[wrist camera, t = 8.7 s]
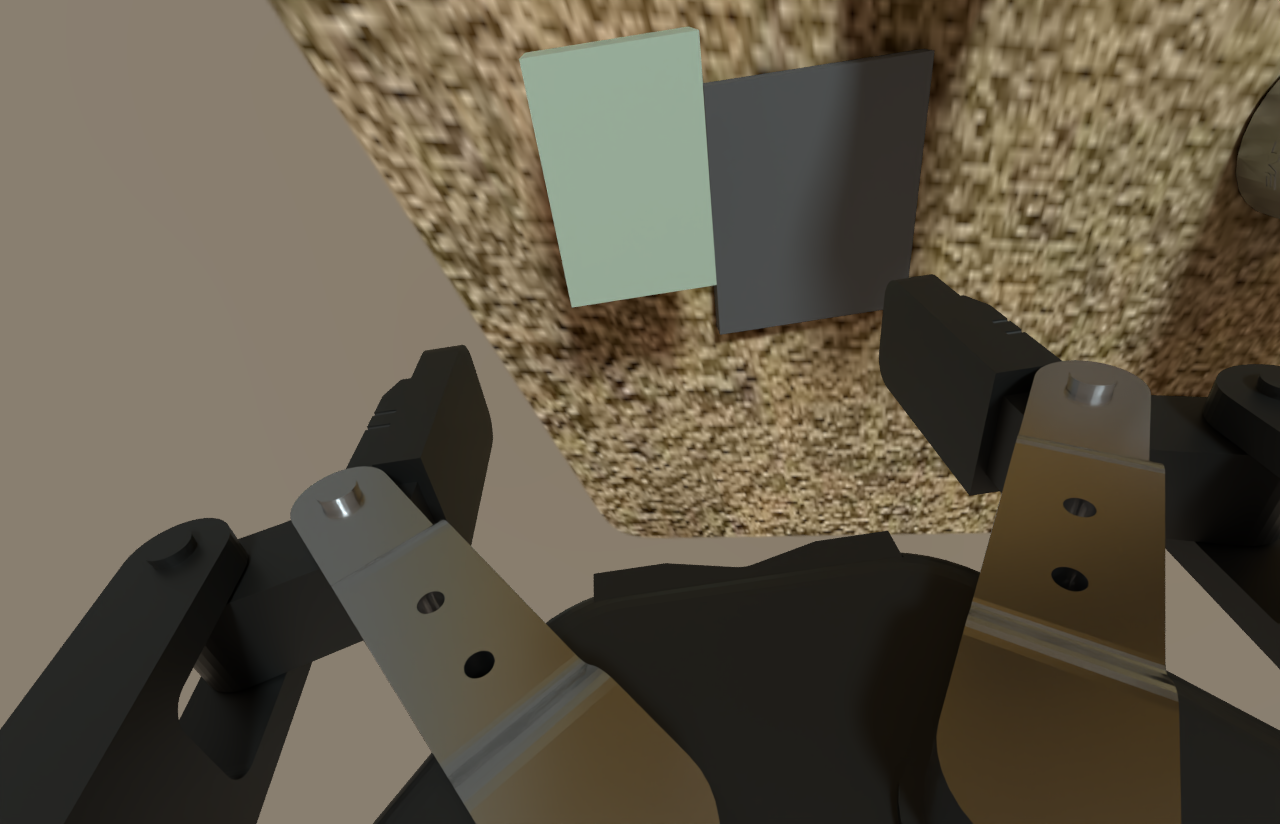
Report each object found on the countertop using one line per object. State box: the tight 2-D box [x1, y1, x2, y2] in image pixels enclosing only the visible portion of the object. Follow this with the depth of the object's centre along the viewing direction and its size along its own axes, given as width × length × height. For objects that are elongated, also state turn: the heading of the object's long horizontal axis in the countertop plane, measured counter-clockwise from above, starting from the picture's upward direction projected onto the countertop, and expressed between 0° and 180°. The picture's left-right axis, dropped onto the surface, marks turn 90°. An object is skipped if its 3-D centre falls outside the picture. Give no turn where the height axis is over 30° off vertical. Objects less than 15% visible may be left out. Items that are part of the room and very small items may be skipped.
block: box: [519, 27, 717, 307], centre depth 24 cm, size 6×9×2 cm, turn 8°
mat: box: [703, 49, 934, 335], centre depth 31 cm, size 10×12×1 cm
